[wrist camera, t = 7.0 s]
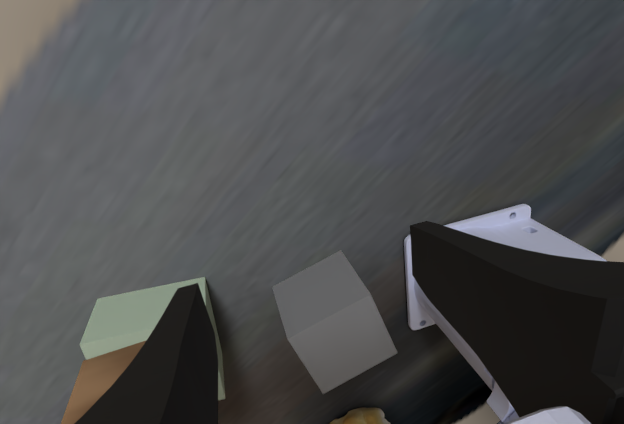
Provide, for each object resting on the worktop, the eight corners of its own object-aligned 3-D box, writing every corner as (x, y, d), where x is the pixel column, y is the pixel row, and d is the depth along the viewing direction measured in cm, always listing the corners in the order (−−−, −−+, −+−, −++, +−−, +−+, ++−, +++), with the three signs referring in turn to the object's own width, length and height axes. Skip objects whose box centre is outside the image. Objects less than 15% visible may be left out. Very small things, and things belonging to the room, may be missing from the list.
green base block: (204, 275, 24) (205, 316, 20) (221, 350, 26) (225, 398, 23) (98, 296, 23) (79, 344, 19) (126, 373, 25) (115, 428, 22)
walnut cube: (184, 327, 20) (180, 409, 16) (213, 393, 22) (217, 481, 18) (83, 360, 19) (49, 455, 15) (123, 425, 22) (104, 524, 17)
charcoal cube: (340, 249, 25) (370, 293, 21) (365, 302, 28) (397, 353, 23) (271, 286, 25) (287, 338, 21) (303, 336, 28) (323, 394, 23)
